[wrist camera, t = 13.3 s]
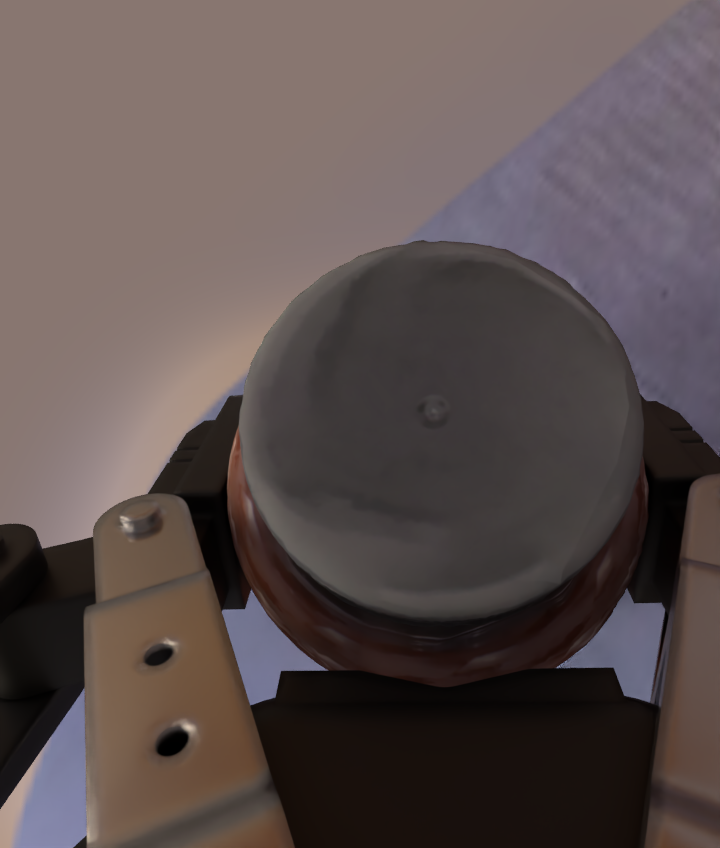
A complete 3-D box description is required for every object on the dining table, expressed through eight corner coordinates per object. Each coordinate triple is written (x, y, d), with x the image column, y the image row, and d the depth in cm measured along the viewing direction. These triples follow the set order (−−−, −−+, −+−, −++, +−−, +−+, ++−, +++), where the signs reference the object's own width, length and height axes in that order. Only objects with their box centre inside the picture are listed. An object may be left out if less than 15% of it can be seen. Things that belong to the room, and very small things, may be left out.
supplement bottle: (554, 658, 15) (861, 747, 5) (321, 673, 16) (115, 784, 5) (520, 433, 17) (683, 128, 7) (311, 451, 18) (146, 192, 7)
